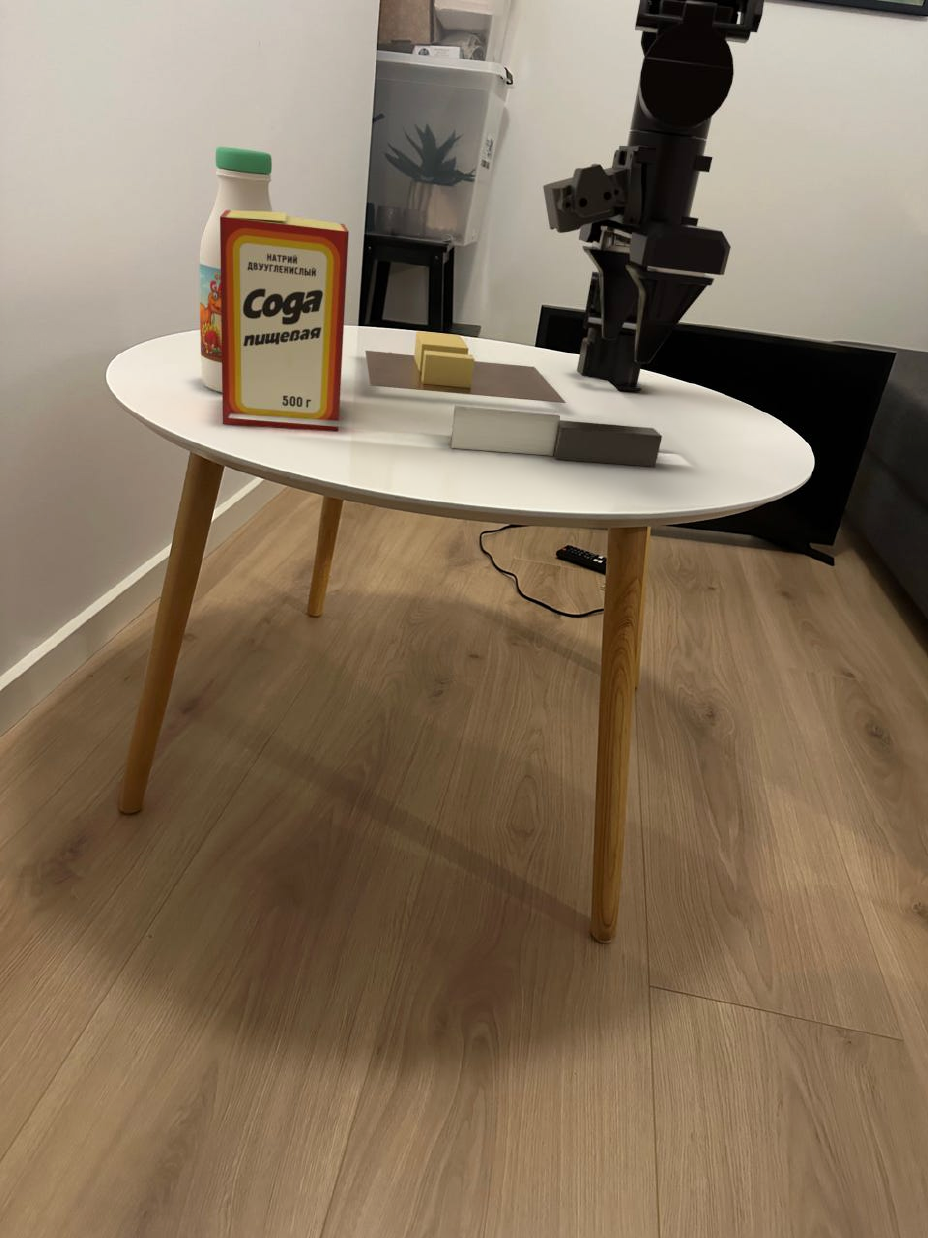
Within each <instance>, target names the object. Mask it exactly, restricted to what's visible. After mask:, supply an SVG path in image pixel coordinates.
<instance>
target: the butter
mask: <svg viewBox="0 0 928 1238" xmlns="http://www.w3.org/2000/svg"><path fill="white" fill-rule="evenodd" d="M414 344H415V345H414V354H413V355H414V358H415V361H416V364H417V366H418V369H419V372H422V368H423V358H424V351H425V350H426V351H436V352H446V353H456V354H466V355H469V347H468V345H467V344H466V342H465V341H464V339H463V338H462V336H461V335H459V334H452V333H443V332H442V333H441V332H433V331H432V332H431V331H422V330H416V332H415V343H414Z"/></svg>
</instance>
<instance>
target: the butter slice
mask: <svg viewBox="0 0 928 1238" xmlns="http://www.w3.org/2000/svg"><path fill="white" fill-rule="evenodd" d="M474 361H476V360H475V357H474V356H473V355H472V354H468V355H466V354H456V353H446V352H436V351H426V350H425V351H424V358H423V368H422V382H423V384H430V385H441V386H452V387H462V388H471V384H472V376H473V368H474Z"/></svg>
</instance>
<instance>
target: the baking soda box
mask: <svg viewBox="0 0 928 1238" xmlns="http://www.w3.org/2000/svg"><path fill="white" fill-rule="evenodd" d="M349 234H350V232H349V230H348V228H347V226H346V224H344V223H339V222H333V221H331V222H330V221H326V220H319V219H311V218H305V217H298V216H291V215H290V216H289V215H287V213H286V212H285V211H284V212H283V211H273V212H262V211H237V210H225V212H224V213H223V214H222V215H221V216H220V254H221V331H222V392H221V395H222V396H221V400H222V402H221V403H222V405H221V406H222V425H236V426H248V427H249V426H250V427H264V428H278V429H279V428H281V429H296V430H310V431H325V432H337V433H338V432H339V429H340V428H339V426H336V425H325V424H324V425H323V424H312V423H299V422H298V423H297V422H287V421H275V420H262V419H249V418H239V417H238V418H237V417H230V415H231V414H238V415H251V416H252V415H253V416H268V417H281V418H294V419H307V420H309V419H311V420H322V421H324V420H325V421H340V409H341V408H340V407H341V391H342V390H341V389H342V388H341V387H342V371H343V370H342V368H343V350H344V349H343V348H344V331H345V311H346V310H345V309H346V293H347V292H346V291H347V271H348V255H349V254H348V253H349Z"/></svg>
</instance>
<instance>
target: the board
mask: <svg viewBox="0 0 928 1238" xmlns="http://www.w3.org/2000/svg"><path fill="white" fill-rule="evenodd" d="M365 358H366V364H367V372H368V377H369V379H368V380H369V384H370V386H372V387H381V388H382V387H383V388H393V389H394V388H395V389H403V390H417V391H426V392H438V393H447V394H448V393H449V394H458V395H459V394H460V395H471V396H472V395H473V396H481V397H494V398H506V399H517V400H529V401H539V402H548V403H549V402H550V403H561V404H566V403H567V402H566V401H565V400H564V399H563V398H562V397H561V395H560V394H559V393H558V392H557V390H556V389H555V388H554V387H553V386H552V385H551V384H550V383H549V382H548V380H547V379H546V378H545V377H544V376H543V374H541V373H540V371H539V370H538V369H537V368H536V367H535V366H530V365H517V364H510V363H509V364H508V363H500V362H499V363H498V362H488V361H477V360H474V368H473V376H472V384H471V388H462V387H452V386H441V385H430V384H423V382H422V372H419V369H418V366H417V364H416V361H415V358H414V354H406V353H405V354H404V353H394V352H384V351H383V352H382V351H374V350H365Z"/></svg>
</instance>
